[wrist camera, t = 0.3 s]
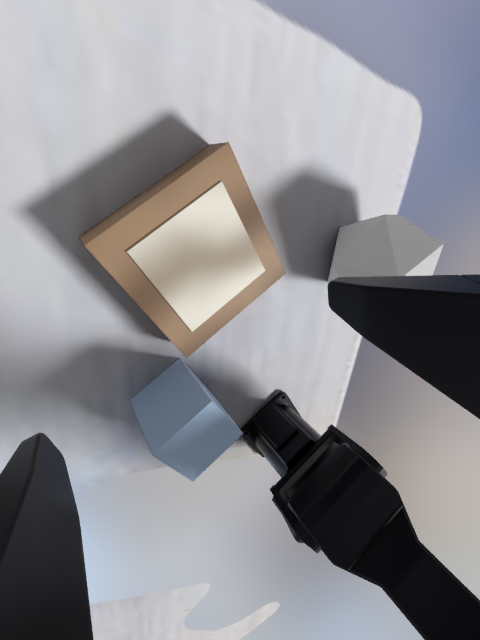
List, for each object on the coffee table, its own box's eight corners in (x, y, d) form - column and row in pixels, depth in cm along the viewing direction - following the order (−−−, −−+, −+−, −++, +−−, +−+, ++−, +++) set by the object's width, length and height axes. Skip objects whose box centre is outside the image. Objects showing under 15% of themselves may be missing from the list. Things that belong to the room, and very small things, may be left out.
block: (209, 389, 28) (243, 433, 23) (166, 428, 27) (192, 481, 22) (179, 357, 25) (212, 400, 20) (129, 399, 24) (152, 455, 19)
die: (288, 267, 28) (366, 351, 26) (361, 180, 23) (469, 276, 20) (325, 257, 34) (391, 324, 32) (389, 188, 29) (474, 262, 26)
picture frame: (267, 265, 26) (286, 273, 24) (174, 342, 24) (186, 358, 22) (209, 144, 20) (229, 142, 18) (78, 237, 18) (84, 246, 16)
